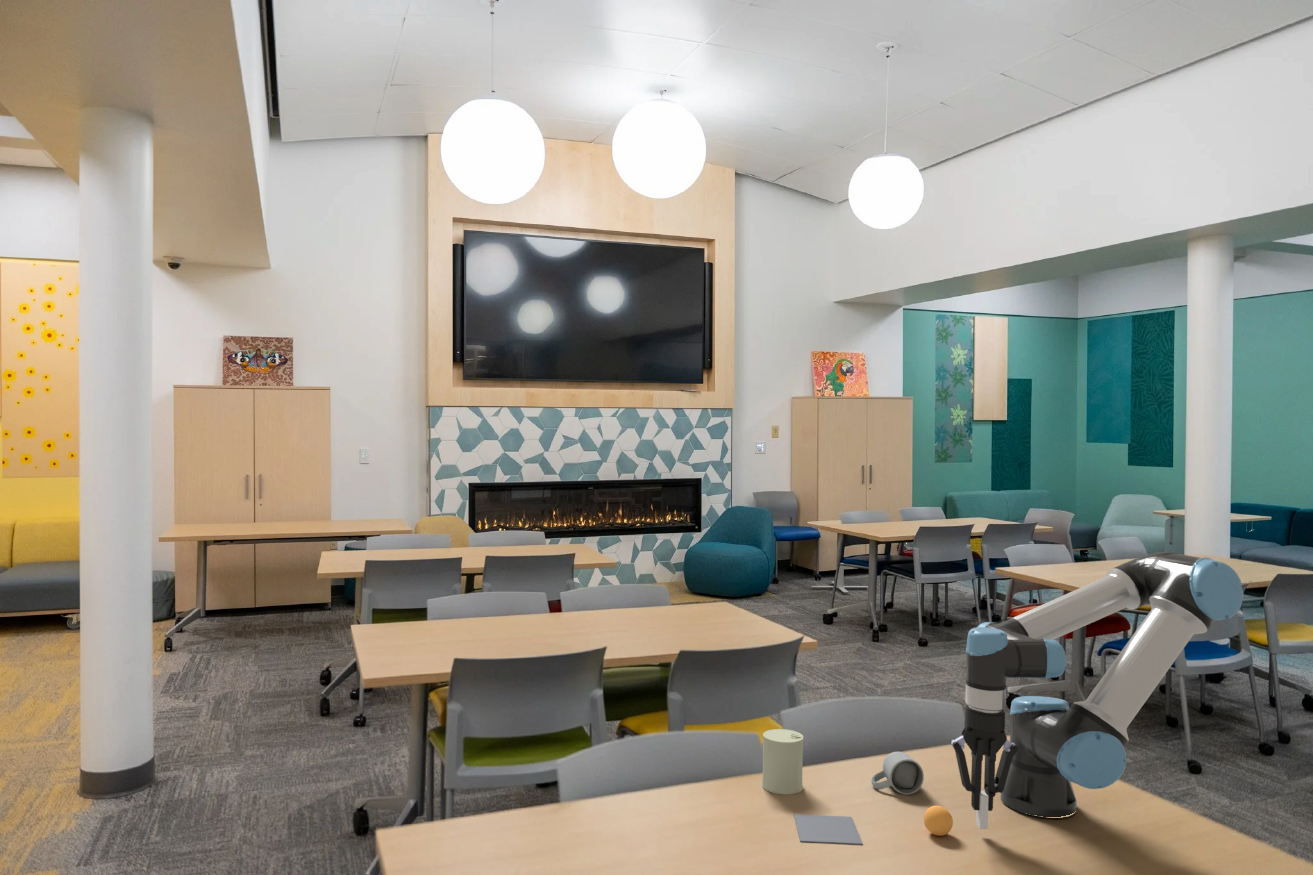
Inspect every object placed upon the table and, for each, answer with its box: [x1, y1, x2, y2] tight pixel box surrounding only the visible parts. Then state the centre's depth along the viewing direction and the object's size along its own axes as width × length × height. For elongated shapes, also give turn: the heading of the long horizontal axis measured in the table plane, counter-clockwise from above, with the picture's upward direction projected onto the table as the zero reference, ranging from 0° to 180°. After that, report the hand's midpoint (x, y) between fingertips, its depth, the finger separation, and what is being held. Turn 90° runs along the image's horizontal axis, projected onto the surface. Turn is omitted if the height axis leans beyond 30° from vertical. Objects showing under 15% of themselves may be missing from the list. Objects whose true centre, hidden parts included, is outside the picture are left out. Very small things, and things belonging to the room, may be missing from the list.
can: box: [761, 728, 805, 796], centre depth 193 cm, size 9×9×12 cm
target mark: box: [793, 813, 863, 845], centre depth 172 cm, size 12×12×1 cm
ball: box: [923, 805, 954, 837], centre depth 171 cm, size 6×6×6 cm
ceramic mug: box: [870, 751, 925, 795], centre depth 194 cm, size 11×8×8 cm
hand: (981, 825), depth 170 cm, fingers closed
